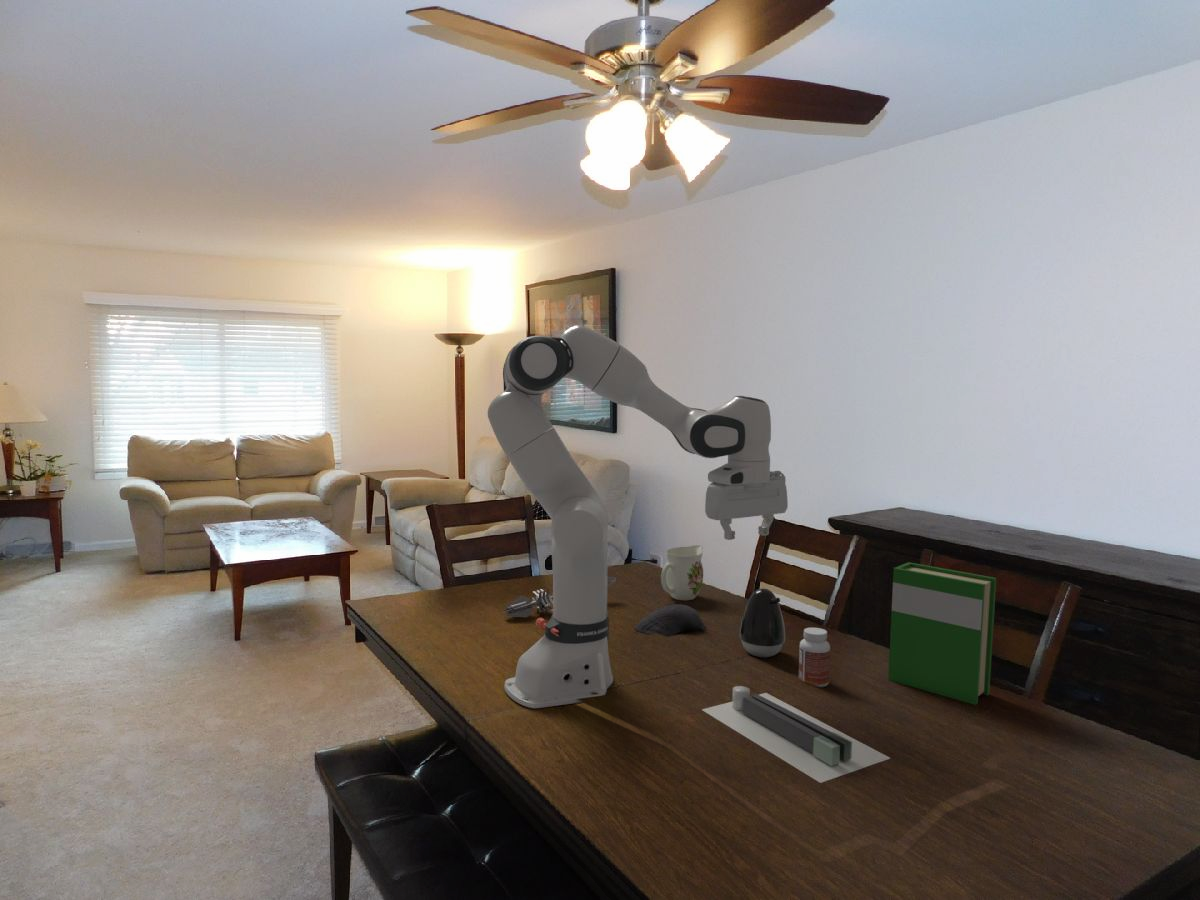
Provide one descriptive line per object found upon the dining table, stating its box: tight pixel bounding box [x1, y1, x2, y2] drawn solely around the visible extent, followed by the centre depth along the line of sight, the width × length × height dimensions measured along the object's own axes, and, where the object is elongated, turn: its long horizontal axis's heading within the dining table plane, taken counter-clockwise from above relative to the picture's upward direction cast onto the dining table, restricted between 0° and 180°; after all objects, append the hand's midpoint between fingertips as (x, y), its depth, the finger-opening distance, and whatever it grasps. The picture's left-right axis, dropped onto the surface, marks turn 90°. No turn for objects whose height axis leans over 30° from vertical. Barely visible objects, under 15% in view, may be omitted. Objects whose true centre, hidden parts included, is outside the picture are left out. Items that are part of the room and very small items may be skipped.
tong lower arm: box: [731, 685, 840, 766], centre depth 137 cm, size 26×4×4 cm, turn 30°
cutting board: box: [701, 692, 891, 784], centre depth 138 cm, size 16×30×1 cm, turn 30°
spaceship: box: [504, 576, 617, 618], centre depth 211 cm, size 8×35×8 cm
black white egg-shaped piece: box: [739, 588, 786, 658], centre depth 178 cm, size 10×10×15 cm
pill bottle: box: [798, 627, 831, 688], centre depth 162 cm, size 6×6×11 cm
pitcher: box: [660, 544, 704, 601], centre depth 222 cm, size 11×18×14 cm, turn 137°
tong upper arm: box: [750, 693, 852, 761], centre depth 136 cm, size 22×2×3 cm, turn 32°
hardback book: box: [887, 561, 997, 706], centre depth 160 cm, size 18×7×24 cm, turn 46°
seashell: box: [633, 603, 707, 637], centre depth 196 cm, size 14×19×8 cm
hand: (746, 537), depth 167 cm, fingers open, 8 cm apart
